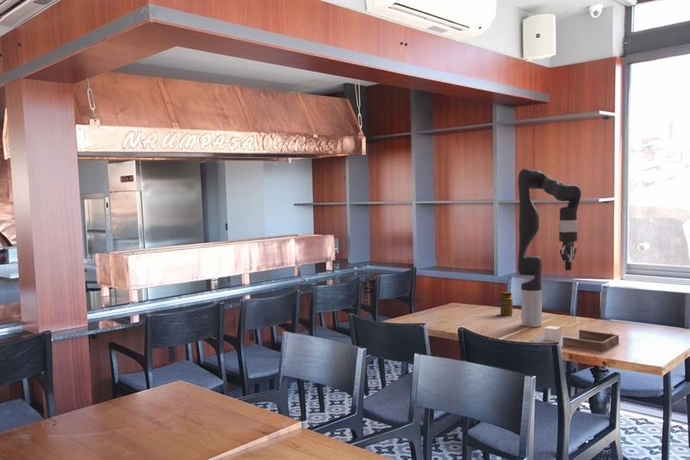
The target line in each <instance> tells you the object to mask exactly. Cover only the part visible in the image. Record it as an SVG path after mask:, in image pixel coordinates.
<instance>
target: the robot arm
mask: <svg viewBox="0 0 690 460" xmlns="http://www.w3.org/2000/svg"><path fill="white" fill-rule="evenodd" d="M517 187H518V200H519V201H518V203H519V207H518V208H519V210H518V211H519V212H518V214H519V216H518V232H519V233H518V236H519V237H518V238H519V239H518V241H519V242H518V257H517V272H518V274H519V275H520V276H534V277H533V278H532V279H530V280H528V281H525V282H524V281H523V282H522V283H521V285H520V290H521V291H520V299H521V304H520V305H521V310H520V311H521V318H520V319H521V321H520V323H521V324H520V325H521V326H523V327H529V328H535V327H536V328H538V327H542V325H543V321H542V315H543V313H542V310H543V308H542V271H543V269H542V268H543V261H542V260H543V259H542V257H541V256H538V255H526V253H527V250H528V247H529V245H530V244H531V242H533V241H532V240H533V239H534V238H535V236H536V235H537V233H538V232H539V229H540V214H539V211H538V209H537V208H536V206H535V204H534V202H533V201H532V199H531V196H530V194H531V193H530V189H531V190H536V189H537V190H538V189H539V190H542V191H544V192H545V193H546V194H548V195H550V196H553V197H554V199H556V200H557V201H560V202H568V204H567V205H565V206H562V207H560V209H559V224H558V241H559V242H561V243H562V244H561V245H562V246H561V249H559V253H560V256H561V260H562V261H564V266H565V267H564V270H565V271H571V270H572V268H573V267H572V266H573V265H572V264H573V263H572V262H573V260H575V257H576V253H577V251H578V250H577V247H575V243H577V242H578V219H577V217H578V213H577V212H578V208H579V203H580V200H581V197H582V190H581V188H580V186H578V185H577V184H565V183H564V182H562V181H560V180H557V179H555V178H551V177H549V176H547V175H546V174H545V173H543V172H542V171H540V170H537V169H530V168H529V169H528V168H523V169H521V170H520V171H519V173H518V178H517ZM574 242H575V243H574Z"/></svg>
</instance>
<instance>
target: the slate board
mask: <svg viewBox="0 0 690 460" xmlns="http://www.w3.org/2000/svg"><path fill="white" fill-rule="evenodd" d="M563 337H568V338H574V339H581V340H588V341H595V342H603V341H596V340H589V339H582V338H579V336H578V337H577V336H569V335H563V334H561V339H560V340H558V341H551V340H544V334H543V335H541V336H538V337H536V338H533V339H531V340H529V343H530V342H533V343H540V342H560V343H561V347H566V348H568V347H567V346H563ZM618 345H619V344H617V345H615V346H613V347H611V348H610V349H608V350H606V351H604V352H603V353H605V352H607V351H609V350H611V349H612V348H614V347H616V346H618ZM571 348H572V349H573V347H571ZM577 349H579V350H581V349H580V348H577ZM584 350H585V351H587V350H586V349H584ZM590 351H592V352H593V350H590ZM596 352H598V353H600V352H599V351H596Z"/></svg>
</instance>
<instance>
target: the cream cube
mask: <svg viewBox="0 0 690 460" xmlns="http://www.w3.org/2000/svg"><path fill="white" fill-rule="evenodd" d="M543 331H544V332H543V335H544V340H551V341H558V340H560V339H561V335H562V329H561V326H554V325H548V326H546V327H544V328H543Z"/></svg>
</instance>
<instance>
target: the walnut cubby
mask: <svg viewBox="0 0 690 460" xmlns="http://www.w3.org/2000/svg"><path fill="white" fill-rule="evenodd" d="M578 337H579V338H582V339H589V340H596V341H603V342H595V341H588V340H581V339H574V338H568V337H563V346H562V347H565V346H567V347H566V348H572V347H573V348H574V349H578V348H580V349H579V350H585V349H586V350H585V351H591V350H593V351H594V352H597V351H599V352H598V353H605V352H607V351H609V350H611V349H612V348H614V347H616V346H618V345H619V344H620V339H619V337H620V335H619V334H614V333H607V332H601V331H593V330H585V329H579V330H578ZM617 344H618V345H617ZM615 345H616V346H615ZM613 346H614V347H613ZM611 347H612V348H611ZM573 348H572V349H573ZM610 348H611V349H610ZM608 349H609V350H608ZM606 350H607V351H606ZM593 351H592V352H593ZM604 351H605V352H604Z"/></svg>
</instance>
